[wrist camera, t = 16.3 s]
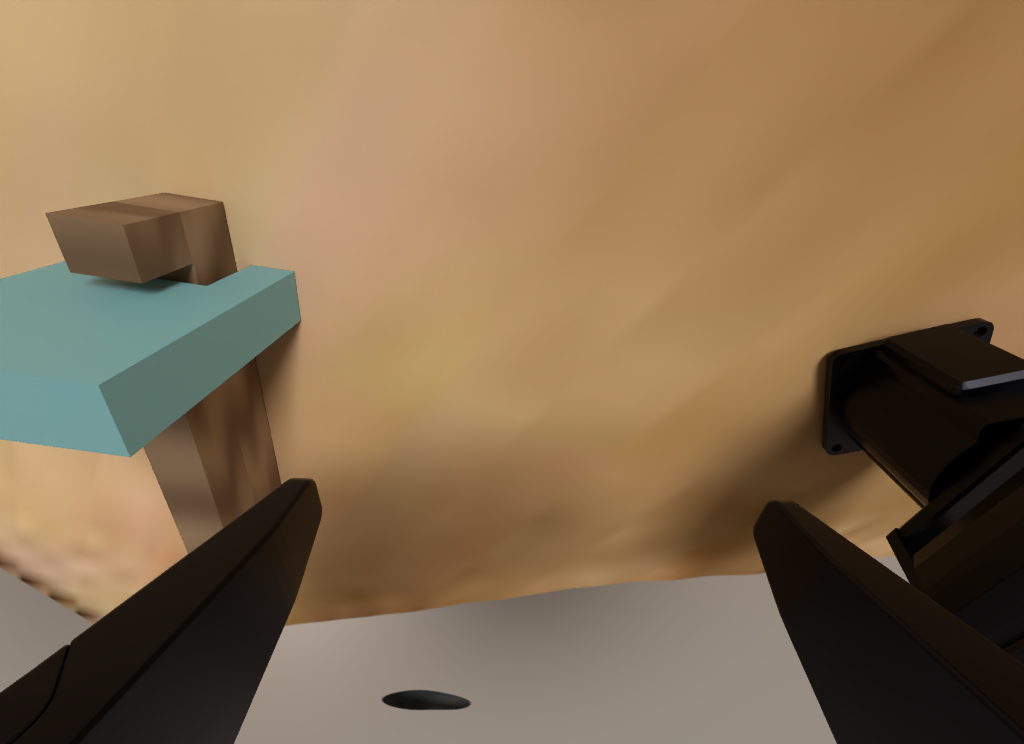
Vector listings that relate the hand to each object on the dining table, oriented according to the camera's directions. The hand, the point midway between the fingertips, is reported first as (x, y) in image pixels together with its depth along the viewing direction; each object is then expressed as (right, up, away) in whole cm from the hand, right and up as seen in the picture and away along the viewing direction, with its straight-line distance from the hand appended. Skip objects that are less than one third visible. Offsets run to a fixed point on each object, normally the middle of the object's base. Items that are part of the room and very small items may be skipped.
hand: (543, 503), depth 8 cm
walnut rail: (-16, +2, +15) cm, 22 cm away
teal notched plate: (-15, +7, +12) cm, 20 cm away
